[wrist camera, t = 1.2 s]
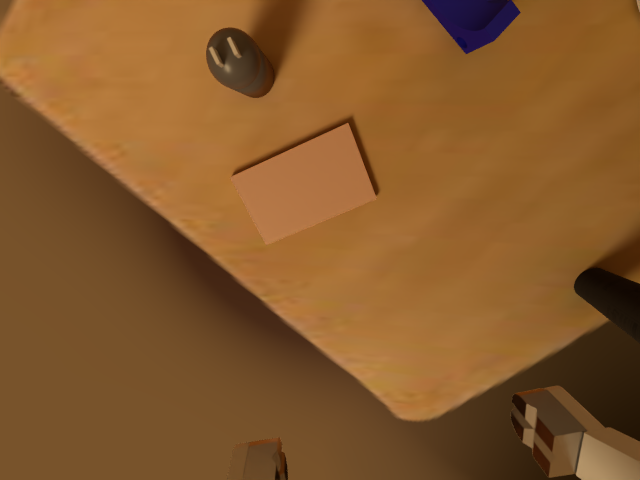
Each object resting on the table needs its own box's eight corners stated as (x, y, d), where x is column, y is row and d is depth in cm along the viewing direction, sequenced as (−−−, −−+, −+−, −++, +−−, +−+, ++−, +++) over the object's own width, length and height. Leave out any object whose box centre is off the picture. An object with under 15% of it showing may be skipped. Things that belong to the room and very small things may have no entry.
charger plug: (262, 45, 34) (234, 3, 22) (280, 87, 35) (263, 68, 24) (226, 63, 34) (181, 32, 23) (246, 104, 36) (212, 94, 24)
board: (347, 122, 37) (348, 122, 36) (375, 197, 40) (376, 198, 39) (231, 176, 39) (229, 177, 38) (267, 242, 42) (266, 245, 41)
